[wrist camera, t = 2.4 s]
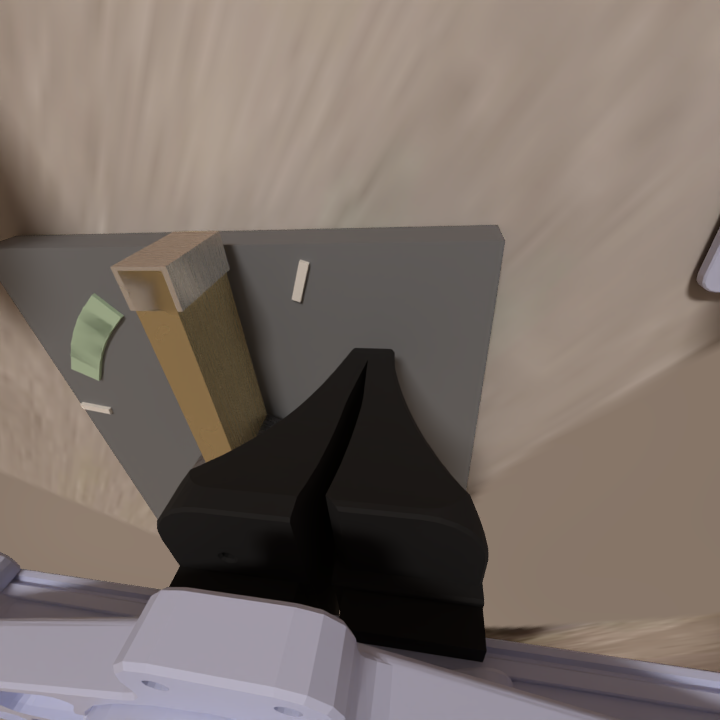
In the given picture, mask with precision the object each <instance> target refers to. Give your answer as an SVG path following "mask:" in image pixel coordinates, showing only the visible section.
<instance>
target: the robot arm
mask: <svg viewBox="0 0 720 720" xmlns="http://www.w3.org/2000/svg"><path fill="white" fill-rule="evenodd" d="M697 282H698V284H699V285H700V286H702V287H703V288H704V289H706V290H707V291H709V292H714V293H720V228H719V230H718V232H717V234H716V236H715V238H714V241H713V243H712V245H711V247H710V249H709V251H708V253H707V255H706V257H705V259H704V261H703V264H702V266H701V268H700V270H699V272H698V275H697ZM157 529H158V532H159V534H160V536H161V538H162V540H163V542H164V543H165V545H166V546H167V547H168V549H169V550H170V552H171V553H172V555H173V556H174V558H175V559H176V561H177V562H178V563H179V565H180V567H179V569H178V571H177V573H176V575H175V577H174V579H173V581H172V582H171V584H170V586H169V587H167V588H165V589H162V590H161V589H154V588H147V587H140V586H134V585H127V584H120V583H114V582H107V581H100V580H93V579H86V578H80V577H73V576H66V575H60V574H53V573H45V572H40V571H33V570H26V569H20V566H19V565H18V564H17V563H16V562H15V561H14V560H13V559H12V558H10V557H9V556H7V555H5V554H3V553H1V552H0V719H4V720H720V672H714V671H707V670H700V669H693V668H687V667H680V666H673V665H666V664H660V663H653V662H646V661H640V660H633V659H626V658H619V657H613V656H606V655H599V654H592V653H586V652H579V651H572V650H565V649H559V648H552V647H545V646H538V645H532V644H525V643H518V642H511V641H505V640H498V639H491V638H485V628H484V617H483V606H484V595H483V585H482V582H483V578H484V574H485V570H486V566H487V562H488V546H487V542H486V538H485V534H484V530H483V527H482V524H481V521H480V519H479V516H478V513H477V511H476V509H475V506H474V504H473V501H472V499H471V497H470V495H469V494H468V493H467V492H466V491H465V489H464V488H463V487H462V486H461V485H460V484H459V483H458V482H457V481H456V479H455V478H454V477H453V476H452V475H451V474H450V472H449V471H448V470H447V469H446V467H445V466H444V465H443V464H442V462H441V461H440V460H439V458H438V457H437V455H436V454H435V453H434V451H433V450H432V448H431V447H430V445H429V444H428V443H427V441H426V440H425V438H424V436H423V435H422V433H421V431H420V430H419V428H418V426H417V424H416V422H415V420H414V419H413V417H412V415H411V412H410V410H409V408H408V406H407V404H406V401H405V399H404V396H403V394H402V391H401V388H400V385H399V382H398V378H397V375H396V370H395V352H394V351H393V350H392V349H378V348H354V349H353V350H351V352H350V353H349V354H348V355H347V357H346V358H345V359H344V360H343V361H342V363H341V364H340V365H339V366H338V367H337V369H336V370H335V371H334V372H333V373H332V374H331V375H330V376H329V377H328V379H327V380H326V381H325V382H324V383H323V384H322V385H321V386H320V387H319V388H318V389H317V390H316V391H315V392H314V393H313V394H312V395H311V396H310V397H309V398H308V399H307V400H305V401H304V402H303V403H302V404H301V405H300V406H299V407H297V408H296V409H295V410H294V411H293V412H291V413H290V414H289V415H288V416H286V417H285V418H284V419H282V420H281V421H279V422H278V423H276V424H275V425H273V426H272V427H270V428H269V429H267V430H266V431H264V432H263V433H261V434H260V435H258V436H256V437H255V438H253V439H251V440H250V441H248V442H246V443H244V444H243V445H241V446H239V447H237V448H235V449H233V450H231V451H229V452H227V453H225V454H223V455H221V456H219V457H217V458H215V459H213V460H210V461H208V462H206V463H204V464H202V465H200V466H197V467H195V468H193V469H190V471H189V472H188V473H187V475H186V476H185V477H184V479H183V480H182V482H181V483H180V485H179V486H178V488H177V489H176V491H175V493H174V494H173V496H172V498H171V499H170V501H169V502H168V504H167V506H166V507H165V509H164V510H163V512H162V514H161V515H160V517H159V519H158V520H157ZM339 610H340V614H339Z"/></svg>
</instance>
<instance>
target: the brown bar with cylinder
mask: <svg viewBox="0 0 720 720" xmlns="http://www.w3.org/2000/svg"><path fill="white" fill-rule="evenodd" d="M110 268H111V270H112V272H113V274H114V276H115V279H116V281H117V283H118V285H119V287H120V289H121V291H122V293H123V296H124V298H125V300H126V302H127V304H128V306H129V308H130V310H131V311H136V313H137V315H138V317H139V319H140V321H141V323H142V326H143V328H144V330H145V332H146V334H147V336H148V339H149V341H150V343H151V345H152V347H153V349H154V352H155V354H156V356H157V358H158V360H159V362H160V365H161V367H162V369H163V371H164V373H165V375H166V378H167V380H168V382H169V384H170V386H171V388H172V391H173V393H174V395H175V397H176V399H177V401H178V404H179V406H180V408H181V410H182V412H183V414H184V417H185V419H186V421H187V423H188V425H189V427H190V430H191V432H192V434H193V436H194V438H195V440H196V443H197V445H198V447H199V449H200V451H201V453H202V454H201V455H200V457H199V458H198V460H197V462H196V463H195V465H194V466H193V468H195V467H197V466H200V465H202V464H204V463H206V462H208V461H210V460H213V459H215V458H217V457H219V456H221V455H223V454H225V453H227V452H229V451H231V450H233V449H235V448H237V447H239V446H241V445H243V444H244V443H246V442H248V441H250V440H251V439H253V438H255V437H256V436H258V435H260V434H261V433H263V432H264V431H266V430H267V429H269V428H270V427H272V426H273V425H275V424H276V423H278V422H279V421H281V420H280V419H278V418H275V417H273V416H270V415H267V413H266V409H265V406H264V402H263V399H262V395H261V392H260V388H259V385H258V381H257V378H256V374H255V371H254V367H253V364H252V360H251V357H250V353H249V350H248V346H247V343H246V339H245V336H244V332H243V329H242V325H241V322H240V318H239V315H238V311H237V308H236V304H235V301H234V297H233V294H232V290H231V287H230V283H229V280H228V276H227V273H226V272H227V271H229V270H230V268H229V264H228V261H227V257H226V254H225V250H224V246H223V243H222V239H221V236H220V232H219V231H183V232H172V233H170V234H168V235H167V236H165V237H163V238H161V239H159V240H158V241H156V242H154V243H152V244H150V245H149V246H147V247H145V248H143V249H141V250H140V251H138V252H136V253H134V254H132V255H131V256H129V257H127V258H125V259H123V260H122V261H120V262H118V263H116V264H114V265H113V266H111V267H110ZM193 468H192V469H193Z"/></svg>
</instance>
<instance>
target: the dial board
mask: <svg viewBox="0 0 720 720" xmlns="http://www.w3.org/2000/svg"><path fill="white" fill-rule="evenodd" d="M219 232H220V236H221V239H222V243H223V246H224V250H225V254H226V257H227V261H228V264H229V268H230V270H229V271H227V272H226V273H227V276H228V280H229V283H230V287H231V290H232V294H233V297H234V301H235V304H236V308H237V311H238V315H239V318H240V322H241V325H242V329H243V332H244V336H245V339H246V343H247V346H248V350H249V353H250V357H251V360H252V364H253V367H254V371H255V374H256V378H257V381H258V385H259V388H260V392H261V395H262V399H263V402H264V406H265V409H266V413H267V415H270V416H273V417H275V418H278V419H280V420H282V419H284V418H285V417H286V416H288V415H289V414H290V413H291V412H293V411H294V410H295V409H296V408H297V407H299V406H300V405H301V404H302V403H303V402H304V401H305V400H307V399H308V398H309V397H310V396H311V395H312V394H313V393H314V392H315V391H316V390H317V389H318V388H319V387H320V386H321V385H322V384H323V383H324V382H325V381H326V380H327V379H328V377H329V376H330V375H331V374H332V373H333V372H334V371H335V370H336V369H337V367H338V366H339V365H340V364H341V363H342V361H343V360H344V359H345V358H346V357H347V355H348V354H349V353H350V352H351V350H353V349H354V348H378V349H392V350H393V351H394V352H395V370H396V375H397V378H398V382H399V385H400V388H401V391H402V394H403V396H404V399H405V401H406V404H407V406H408V408H409V410H410V412H411V415H412V417H413V419H414V420H415V422H416V424H417V426H418V428H419V430H420V431H421V433H422V435H423V436H424V438H425V440H426V441H427V443H428V444H429V445H430V447H431V448H432V450H433V451H434V453H435V454H436V455H437V457H438V458H439V460H440V461H441V462H442V464H443V465H444V466H445V467H446V469H447V470H448V471H449V472H450V474H451V475H452V476H453V477H454V478H455V479H456V481H457V482H458V483H459V484H460V485H461V486H462V487H463V488H464V489H465V491H466V488H467V481H468V475H469V469H470V462H471V456H472V449H473V443H474V437H475V430H476V424H477V417H478V411H479V405H480V398H481V392H482V385H483V379H484V373H485V366H486V360H487V353H488V347H489V341H490V334H491V328H492V321H493V315H494V309H495V302H496V296H497V289H498V283H499V277H500V270H501V264H502V257H503V251H504V245H505V239H504V237H503V235H502V233H501V231H500V229H499V227H498V225H478V226H434V227H390V228H346V229H302V230H258V231H219ZM170 233H172V232H170ZM170 233H126V234H83V235H39V236H15V237H12V238H9V239H6V240H3V241H0V282H1V283H2V285H3V286H4V288H5V289H6V291H7V292H8V294H9V296H10V297H11V299H12V300H13V302H14V303H15V305H16V306H17V308H18V309H19V311H20V312H21V314H22V315H23V317H24V318H25V320H26V321H27V323H28V324H29V326H30V327H31V329H32V330H33V332H34V333H35V335H36V336H37V338H38V339H39V341H40V342H41V344H42V345H43V347H44V348H45V350H46V351H47V353H48V354H49V356H50V357H51V359H52V361H53V362H54V364H55V365H56V367H57V368H58V370H59V371H60V373H61V374H62V376H63V377H64V379H65V380H66V382H67V383H68V385H69V386H70V388H71V389H72V391H73V392H74V394H75V395H76V397H77V398H78V400H79V401H80V403H81V404H80V405H81V407H82V409H85V410H86V412H87V413H88V415H89V416H90V418H91V419H92V421H93V423H94V424H95V426H96V427H97V429H98V430H99V432H100V433H101V435H102V436H103V438H104V439H105V441H106V442H107V444H108V445H109V447H110V448H111V450H112V451H113V453H114V454H115V456H116V457H117V459H118V460H119V462H120V463H121V465H122V466H123V468H124V469H125V471H126V472H127V474H128V475H129V477H130V478H131V480H132V481H133V483H134V484H135V486H136V488H137V489H138V491H139V492H140V494H141V495H142V497H143V498H144V500H145V501H146V503H147V504H148V506H149V507H150V509H151V510H152V512H153V513H154V515H155V516H156V518H157V519H159V517H160V515H161V514H162V512H163V510H164V509H165V507H166V506H167V504H168V502H169V501H170V499H171V498H172V496H173V494H174V493H175V491H176V489H177V488H178V486H179V485H180V483H181V482H182V480H183V479H184V477H185V476H186V475H187V473H188V472H189V471H190V469H192V468H193V466H194V465H195V463H196V462H197V460H198V458H199V457H200V455H201V454H202V453H201V451H200V449H199V447H198V445H197V443H196V440H195V438H194V436H193V434H192V432H191V430H190V427H189V425H188V423H187V421H186V419H185V417H184V414H183V412H182V410H181V408H180V406H179V404H178V401H177V399H176V397H175V395H174V393H173V391H172V388H171V386H170V384H169V382H168V380H167V378H166V375H165V373H164V371H163V369H162V367H161V365H160V362H159V360H158V358H157V356H156V354H155V352H154V349H153V347H152V345H151V343H150V341H149V339H148V336H147V334H146V332H145V330H144V328H143V326H142V323H141V321H140V319H139V317H138V315H137V313H136V311H131V310H130V308H129V306H128V304H127V302H126V300H125V298H124V296H123V293H122V291H121V289H120V287H119V285H118V283H117V281H116V279H115V276H114V274H113V272H112V270H111V268H110V267H111V266H113V265H114V264H116V263H118V262H120V261H122V260H123V259H125V258H127V257H129V256H131V255H132V254H134V253H136V252H138V251H140V250H141V249H143V248H145V247H147V246H149V245H150V244H152V243H154V242H156V241H158V240H159V239H161V238H163V237H165V236H167V235H168V234H170Z"/></svg>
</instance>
